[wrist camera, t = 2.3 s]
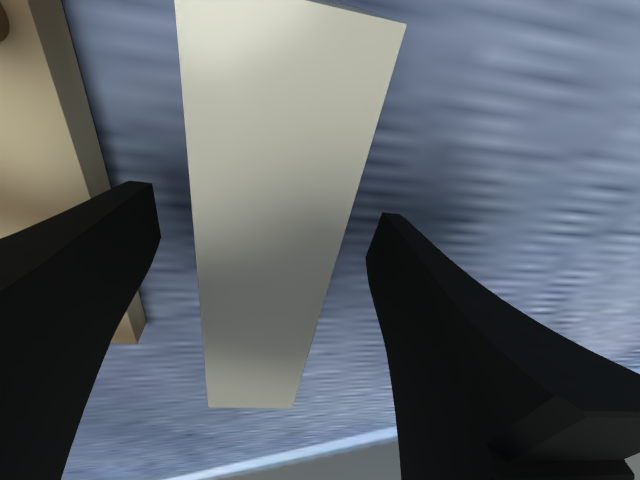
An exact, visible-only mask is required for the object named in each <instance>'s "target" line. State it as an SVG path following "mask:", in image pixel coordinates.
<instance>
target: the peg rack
mask: <svg viewBox="0 0 640 480" xmlns="http://www.w3.org/2000/svg"><path fill="white" fill-rule="evenodd" d="M109 189H111V187H110V183H109V179H108V175H107V172H106V168H105V164H104V160H103V157H102V153H101V149H100V145H99V142H98V138H97V134H96V130H95V127H94V123H93V119H92V115H91V111H90V108H89V104H88V100H87V96H86V93H85V89H84V85H83V81H82V78H81V74H80V70H79V66H78V62H77V59H76V55H75V51H74V47H73V44H72V40H71V36H70V32H69V29H68V25H67V21H66V17H65V14H64V10H63V6H62V2H61V0H0V238H3V237H6V236H8V235H11V234H13V233H16V232H18V231H21V230H23V229H25V228H28V227H30V226H32V225H34V224H37V223H39V222H41V221H44V220H46V219H48V218H50V217H53V216H55V215H57V214H60V213H62V212H64V211H66V210H68V209H70V208H72V207H74V206H76V205H79V204H81V203H83V202H85V201H87V200H89V199H91V198H93V197H95V196H97V195H99V194H101V193H103V192H105V191H107V190H109ZM146 323H147V322H146V319H145V315H144V311H143V307H142V304H141V300H140V296H139V292H138V291H137V292H136V294H135V296H134V298H133V300H132V302H131V303H130V305H129V307H128V309H127V311H126V313H125V315H124V316H123V318H122V320H121V322H120V324H119V326H118V327H117V330H116V332H115V334H114V336H113V338H112V340H111V342H110V343H120V344H137V343H138V341H139V339H140V336H141V334H142V332H143V329H144V327H145V325H146Z"/></svg>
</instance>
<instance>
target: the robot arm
mask: <svg viewBox="0 0 640 480" xmlns="http://www.w3.org/2000/svg"><path fill="white" fill-rule="evenodd" d="M160 239H161V234H160V228H159V222H158V216H157V210H156V204H155V199H154V193H153V187H152V183H144V182H136V181H128V182H125V183H123V184H120V185H118V186H116V187H114V188H112V189H109V190H107V191H105V192H103V193H101V194H99V195H97V196H95V197H93V198H91V199H89V200H87V201H85V202H83V203H81V204H79V205H76V206H74V207H72V208H70V209H68V210H66V211H64V212H62V213H60V214H57V215H55V216H53V217H50V218H48V219H46V220H44V221H41V222H39V223H37V224H34V225H32V226H30V227H28V228H25V229H23V230H21V231H18V232H16V233H13V234H11V235H8V236H6V237H3V238H0V480H61V477H62V474H63V471H64V468H65V464H66V461H67V458H68V455H69V452H70V449H71V446H72V443H73V440H74V437H75V434H76V432H77V429H78V426H79V423H80V420H81V417H82V414H83V411H84V408H85V406H86V403H87V401H88V398H89V395H90V393H91V390H92V387H93V385H94V382H95V379H96V377H97V374H98V372H99V369H100V367H101V364H102V362H103V359H104V357H105V354H106V352H107V349H108V347H109V344H110V342H111V340H112V338H113V336H114V334H115V332H116V330H117V327H118V326H119V324H120V322H121V320H122V318H123V316H124V315H125V313H126V311H127V309H128V307H129V305H130V303H131V302H132V300H133V298H134V296H135V294H136V292H137V291H138V289H139V287H140V285H141V283H142V281H143V280H144V278H145V276H146V274H147V272H148V270H149V268H150V266H151V264H152V262H153V259H154V256H155V254H156V251H157V248H158V245H159V242H160ZM366 266H367V275H368V282H369V287H370V291H371V294H372V298H373V302H374V306H375V309H376V313H377V317H378V321H379V324H380V328H381V332H382V335H383V339H384V343H385V348H386V352H387V358H388V364H389V371H390V377H391V384H392V391H393V399H394V406H395V414H396V424H397V433H398V443H399V452H400V467H401V480H634V473H633V472H632V470H631V469H630V468H629V466H628V465H627V463H626V462H625V460H624V459H625V458H628V457H630V456H632V455H635V454H637V453H640V374H638V373H636V372H634V371H632V370H630V369H627V368H625V367H623V366H621V365H619V364H617V363H615V362H613V361H611V360H609V359H606V358H604V357H602V356H600V355H598V354H596V353H594V352H592V351H590V350H588V349H586V348H584V347H582V346H580V345H578V344H577V343H575V342H573V341H571V340H569V339H567V338H565V337H563V336H562V335H560V334H558V333H556V332H554V331H553V330H551V329H549V328H547V327H546V326H544V325H542V324H540V323H539V322H537V321H535V320H534V319H532V318H530V317H529V316H527V315H526V314H524V313H522V312H521V311H519V310H518V309H516V308H514V307H513V306H511V305H510V304H508V303H507V302H505V301H504V300H502V299H501V298H499V297H498V296H497V295H495V294H494V293H492V292H491V291H490V290H488V289H487V288H485V287H484V286H483V285H481V284H480V283H478V282H477V281H476V280H475V279H473V278H472V277H471V276H469V275H468V274H467V273H466V272H465V271H463V270H462V269H461V268H460V267H458V266H457V265H456V264H455V263H454V262H453V261H451V260H450V259H449V258H448V257H447V256H446V255H444V254H443V253H442V252H441V251H440V250H439V249H438V248H437V247H436V246H435V245H433V244H432V243H431V242H430V241H429V240H428V239H427V238H426V237H425V236H424V235H423V234H422V233H420V232H419V231H418V230H417V229H416V228H415V227H414V226H413V225H412V224H411V223H410V222H408V221H407V220H406V219H405V218H404V217H402V216H401V215H399V214H391V213H382V215H381V218H380V221H379V223H378V226H377V229H376V231H375V234H374V237H373V239H372V242H371V244H370V247H369V250H368V252H367V255H366Z"/></svg>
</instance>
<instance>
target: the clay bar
mask: <svg viewBox="0 0 640 480" xmlns="http://www.w3.org/2000/svg"><path fill="white" fill-rule="evenodd" d="M175 11H176V23H177V35H178V47H179V59H180V71H181V83H182V95H183V107H184V119H185V131H186V143H187V155H188V167H189V179H190V191H191V203H192V215H193V227H194V239H195V251H196V264H197V276H198V288H199V300H200V312H201V324H202V336H203V348H204V360H205V372H206V384H207V396H208V408H287V409H292V407H293V404H294V400H295V397H296V394H297V390H298V387H299V384H300V380H301V377H302V374H303V370H304V367H305V364H306V360H307V357H308V354H309V350H310V347H311V344H312V340H313V337H314V333H315V330H316V327H317V323H318V320H319V317H320V313H321V310H322V307H323V303H324V300H325V297H326V293H327V290H328V287H329V283H330V280H331V277H332V273H333V270H334V267H335V263H336V260H337V257H338V253H339V250H340V247H341V243H342V240H343V236H344V233H345V230H346V226H347V223H348V220H349V216H350V213H351V210H352V206H353V203H354V200H355V196H356V193H357V190H358V186H359V183H360V180H361V176H362V173H363V170H364V166H365V163H366V160H367V156H368V153H369V149H370V146H371V143H372V139H373V136H374V133H375V129H376V126H377V123H378V119H379V116H380V113H381V109H382V106H383V103H384V99H385V96H386V93H387V89H388V86H389V83H390V79H391V76H392V73H393V69H394V66H395V63H396V59H397V56H398V52H399V49H400V46H401V42H402V39H403V36H404V32H405V29H406V26H407V24H405V23H402V22H399V21H395V20H392V19H389V18H386V17H383V16H380V15H377V14H374V13H371V12H368V11H365V10H362V9H359V8H355V7H352V6H348V5H343V4H339V3H335V2H331V1H327V0H175Z"/></svg>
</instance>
